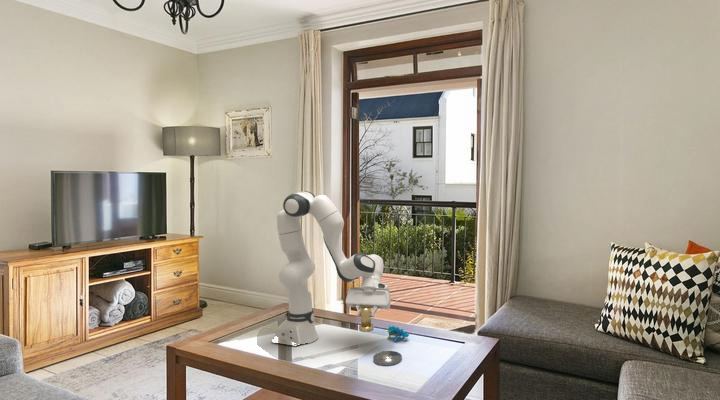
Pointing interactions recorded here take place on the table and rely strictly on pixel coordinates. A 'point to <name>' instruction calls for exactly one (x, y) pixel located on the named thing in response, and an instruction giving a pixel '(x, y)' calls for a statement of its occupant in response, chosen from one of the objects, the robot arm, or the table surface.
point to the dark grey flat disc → (387, 358)
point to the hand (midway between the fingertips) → (365, 316)
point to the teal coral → (396, 332)
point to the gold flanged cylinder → (366, 320)
